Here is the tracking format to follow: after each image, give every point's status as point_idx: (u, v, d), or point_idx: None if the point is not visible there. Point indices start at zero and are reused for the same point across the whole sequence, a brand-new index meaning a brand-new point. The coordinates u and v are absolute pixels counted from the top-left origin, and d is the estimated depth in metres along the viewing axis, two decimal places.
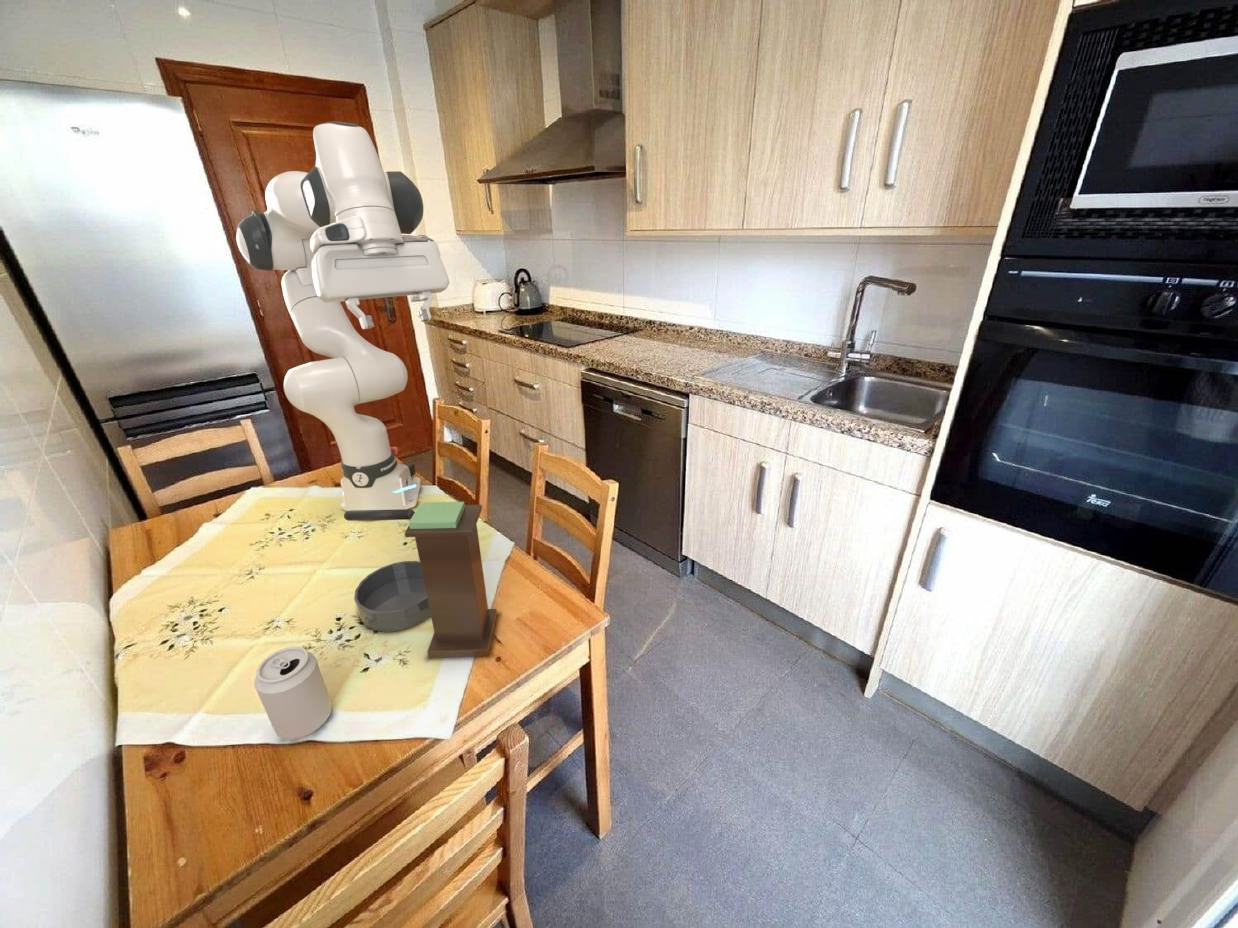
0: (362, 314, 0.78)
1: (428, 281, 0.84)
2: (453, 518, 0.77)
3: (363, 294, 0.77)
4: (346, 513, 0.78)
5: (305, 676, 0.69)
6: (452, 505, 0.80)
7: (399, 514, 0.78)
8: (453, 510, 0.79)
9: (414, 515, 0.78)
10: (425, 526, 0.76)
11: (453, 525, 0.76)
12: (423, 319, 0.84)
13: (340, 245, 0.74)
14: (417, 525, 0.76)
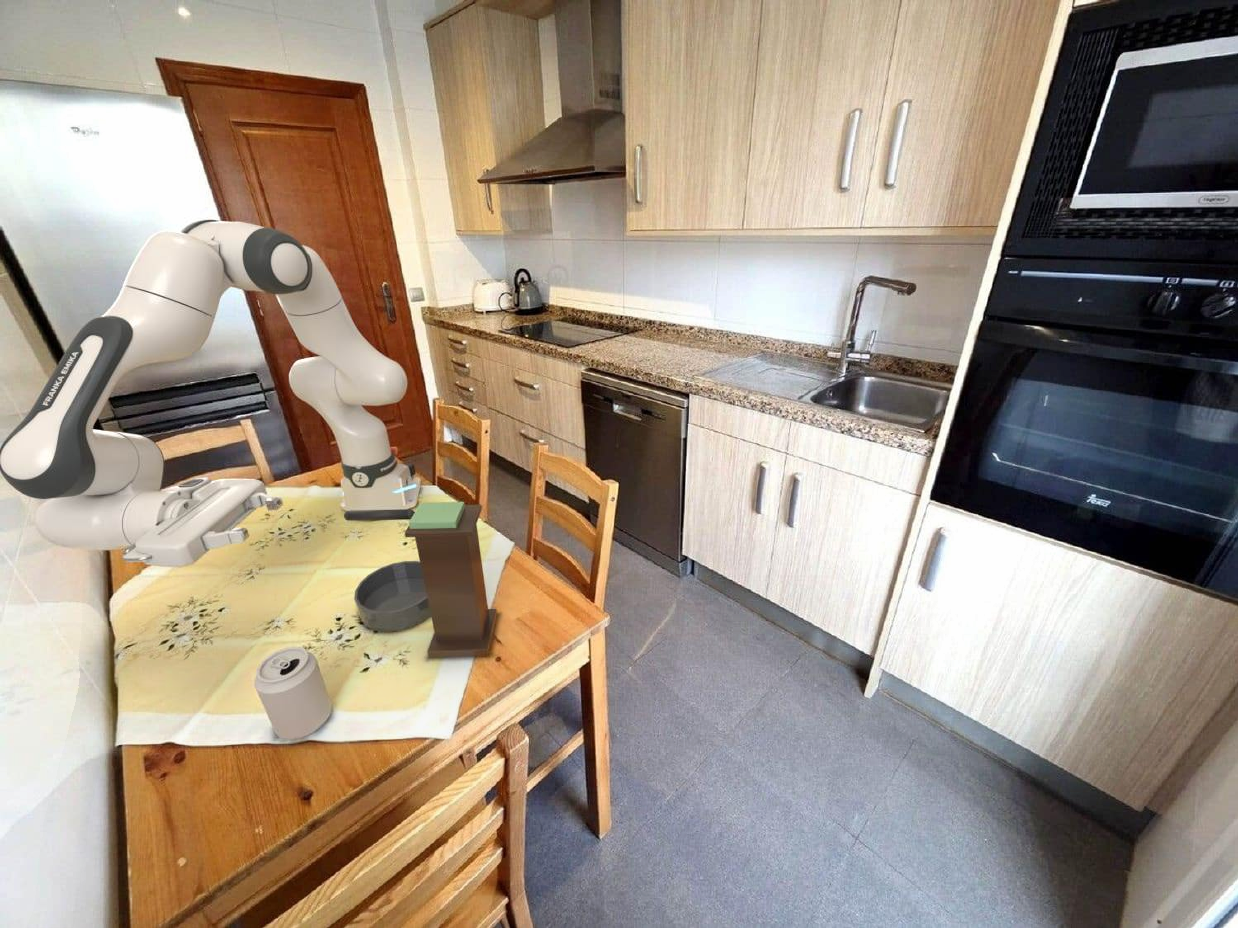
0: None
1: None
2: (453, 518, 0.77)
3: (250, 513, 0.82)
4: (346, 513, 0.78)
5: (305, 676, 0.69)
6: (452, 505, 0.80)
7: (399, 514, 0.78)
8: (453, 510, 0.79)
9: (414, 515, 0.78)
10: (425, 526, 0.76)
11: (453, 525, 0.76)
12: (247, 536, 0.74)
13: None
14: (417, 525, 0.76)
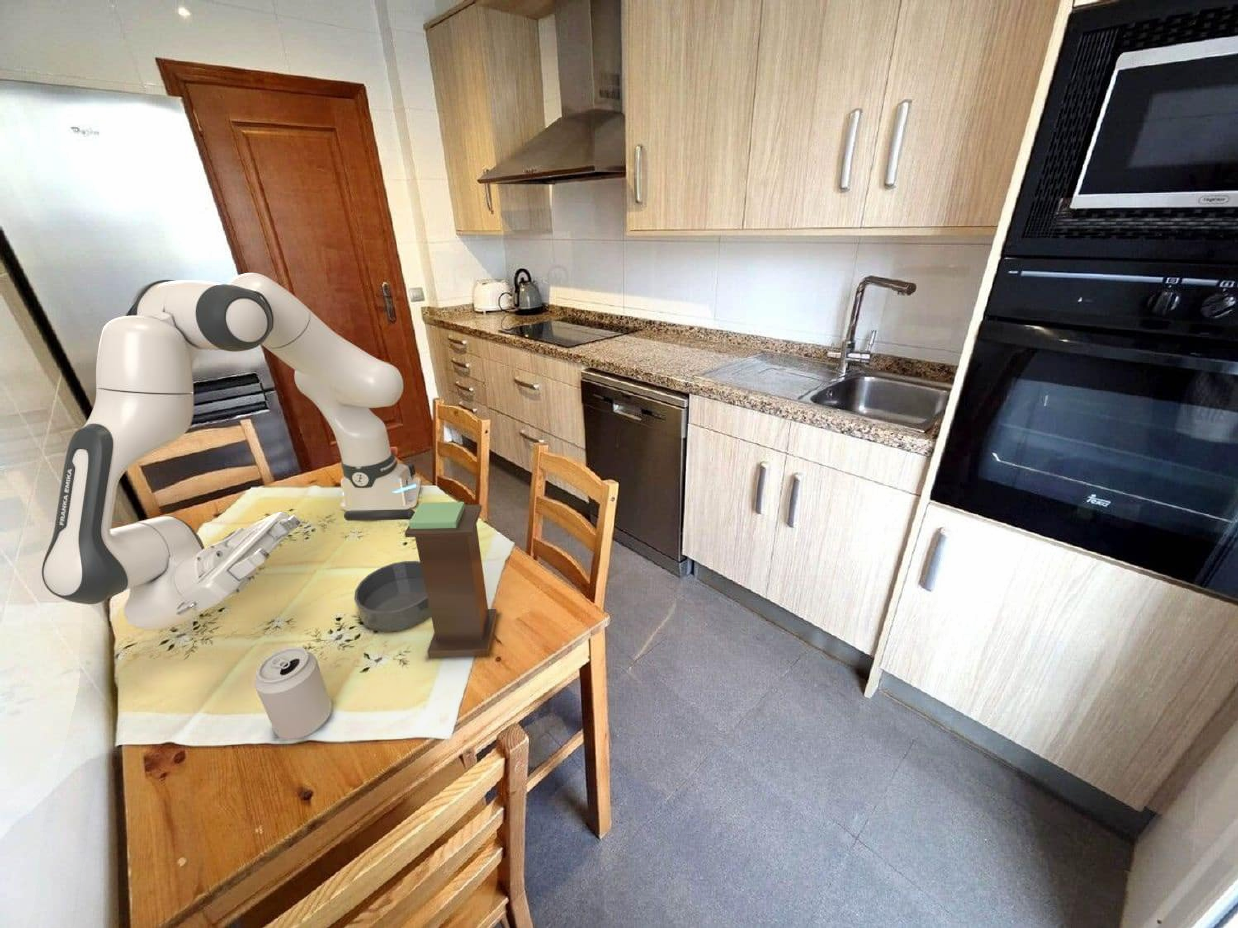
0: None
1: None
2: (453, 518, 0.77)
3: (281, 540, 0.85)
4: (346, 513, 0.78)
5: (305, 676, 0.69)
6: (452, 505, 0.80)
7: (399, 514, 0.78)
8: (453, 510, 0.79)
9: (414, 515, 0.78)
10: (425, 526, 0.76)
11: (453, 525, 0.76)
12: (268, 555, 0.76)
13: None
14: (417, 525, 0.76)
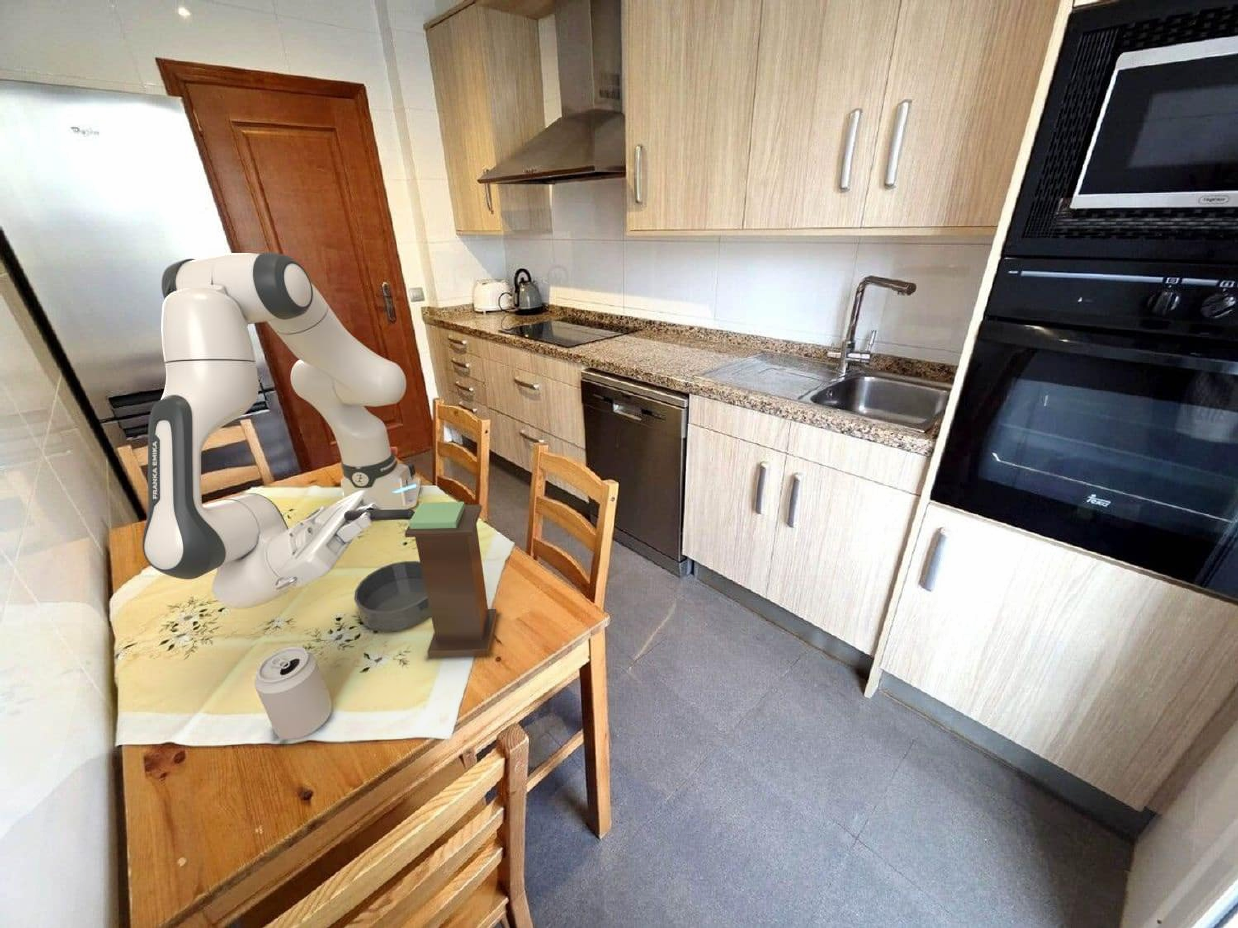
0: None
1: None
2: (453, 518, 0.77)
3: None
4: (346, 513, 0.78)
5: (305, 675, 0.69)
6: (452, 505, 0.80)
7: (399, 514, 0.78)
8: (453, 510, 0.79)
9: (414, 515, 0.78)
10: (425, 526, 0.76)
11: (453, 525, 0.76)
12: (373, 519, 0.78)
13: None
14: (417, 525, 0.76)
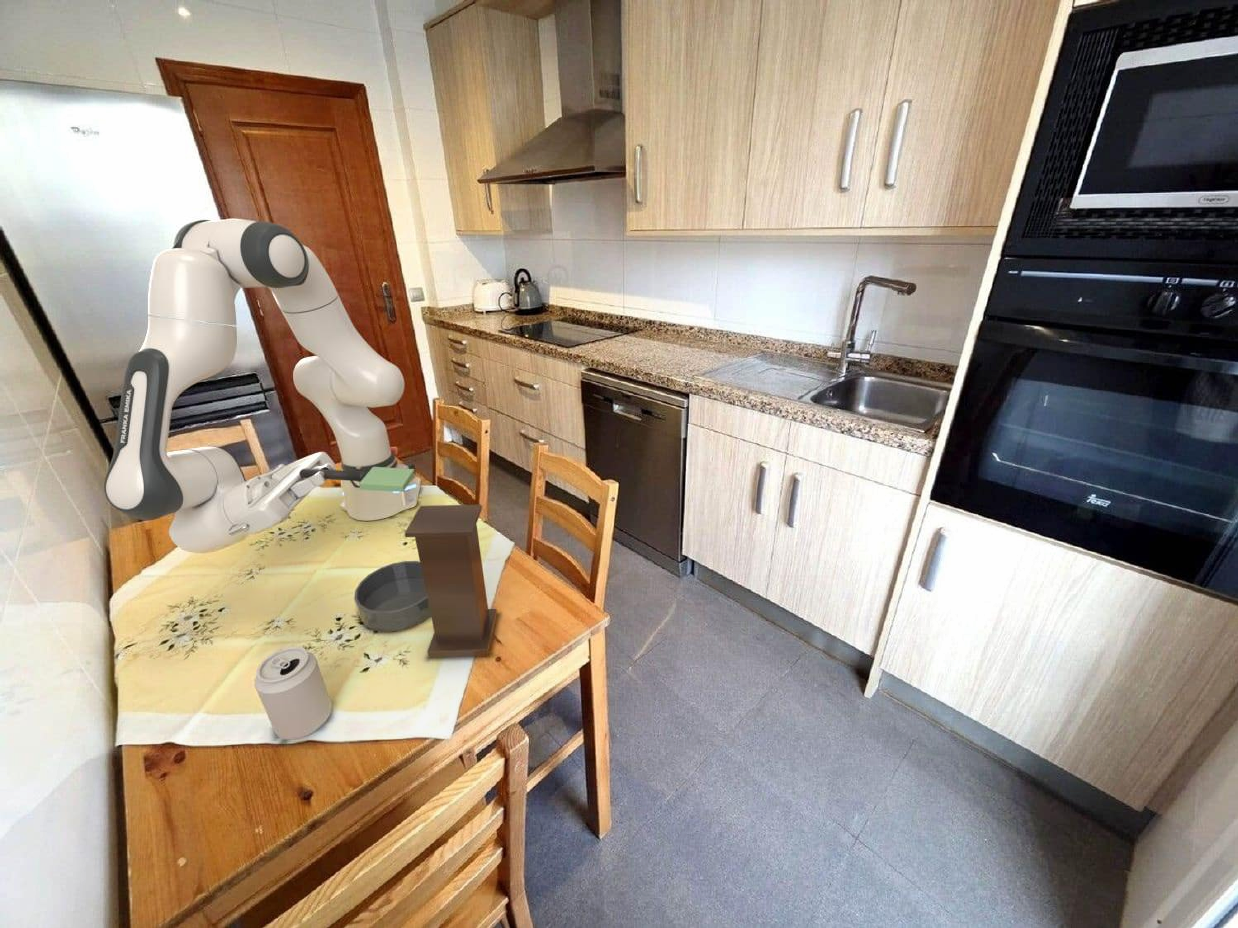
0: None
1: None
2: (401, 482, 0.84)
3: None
4: (301, 470, 0.84)
5: (305, 675, 0.69)
6: (402, 471, 0.87)
7: (351, 475, 0.84)
8: (402, 476, 0.86)
9: (365, 477, 0.84)
10: (374, 487, 0.83)
11: (400, 489, 0.83)
12: (326, 478, 0.84)
13: None
14: (367, 486, 0.83)
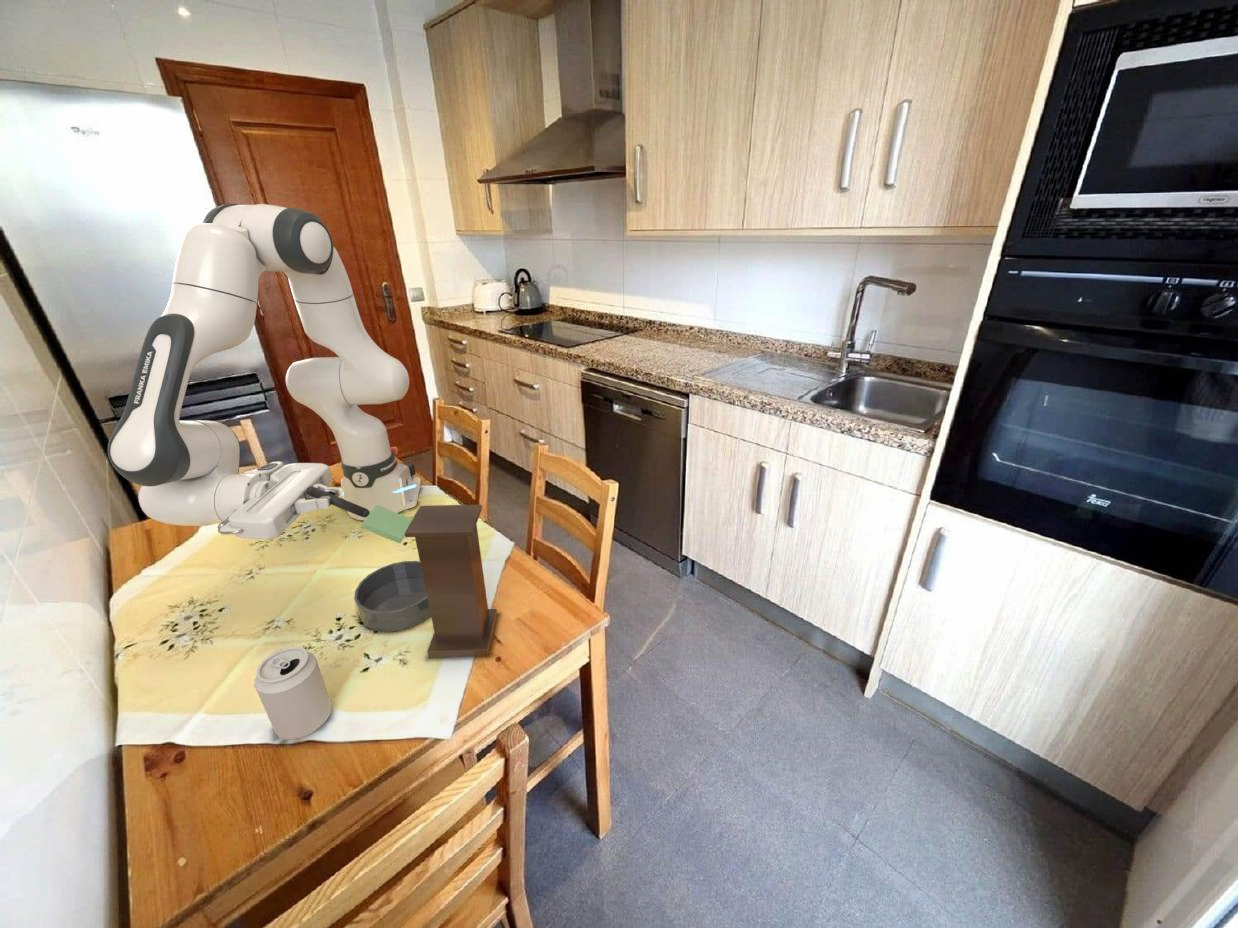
0: None
1: None
2: (401, 534, 0.88)
3: None
4: (310, 488, 0.85)
5: (305, 675, 0.69)
6: (403, 520, 0.91)
7: (356, 509, 0.87)
8: (403, 526, 0.90)
9: (369, 516, 0.87)
10: (375, 531, 0.87)
11: (399, 540, 0.88)
12: (331, 503, 0.86)
13: None
14: (369, 527, 0.86)
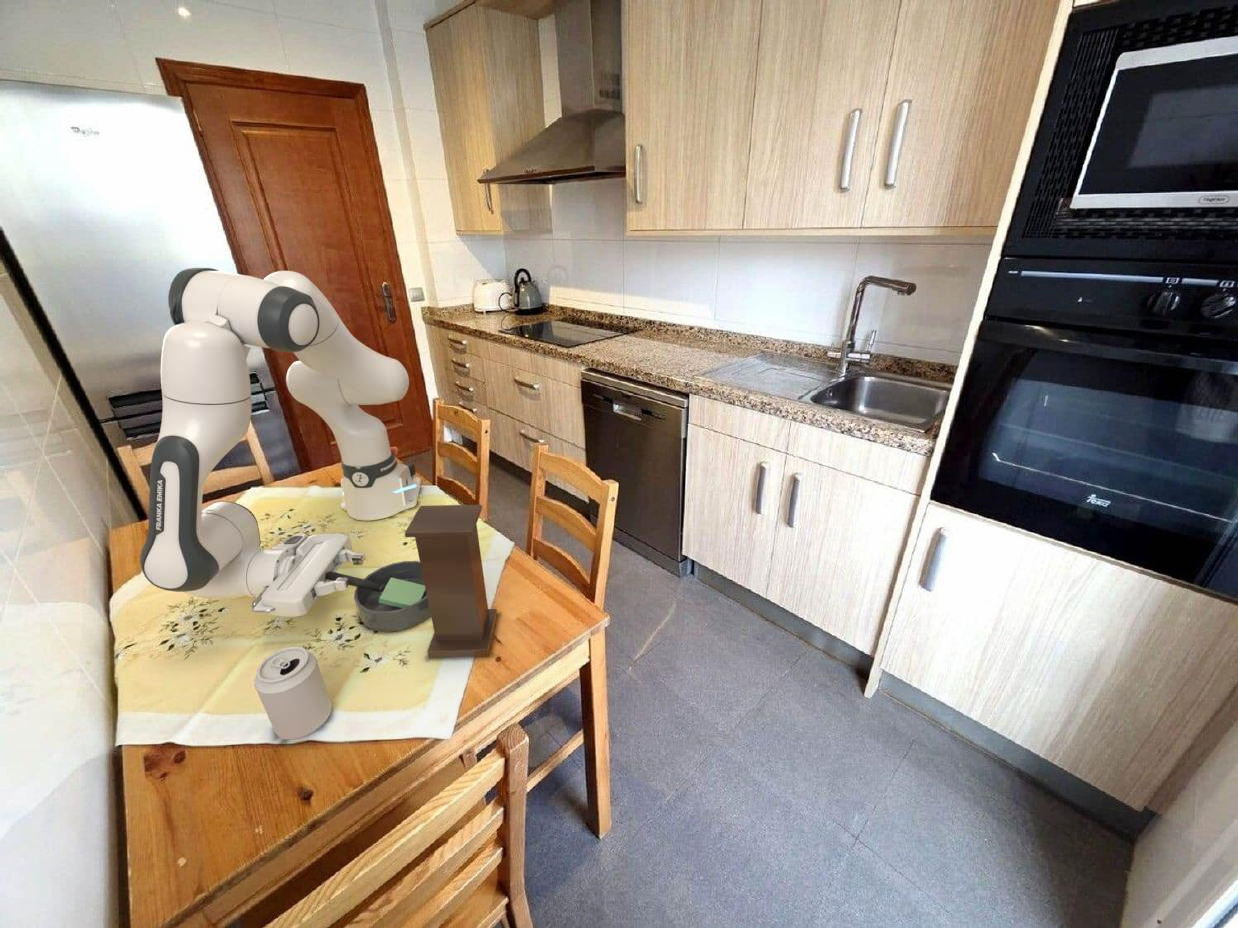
0: None
1: None
2: (416, 602, 0.95)
3: (341, 563, 0.98)
4: (328, 574, 0.93)
5: (305, 675, 0.69)
6: (417, 587, 0.98)
7: (372, 586, 0.95)
8: (417, 594, 0.97)
9: (384, 591, 0.95)
10: (392, 603, 0.94)
11: None
12: None
13: None
14: (385, 601, 0.93)
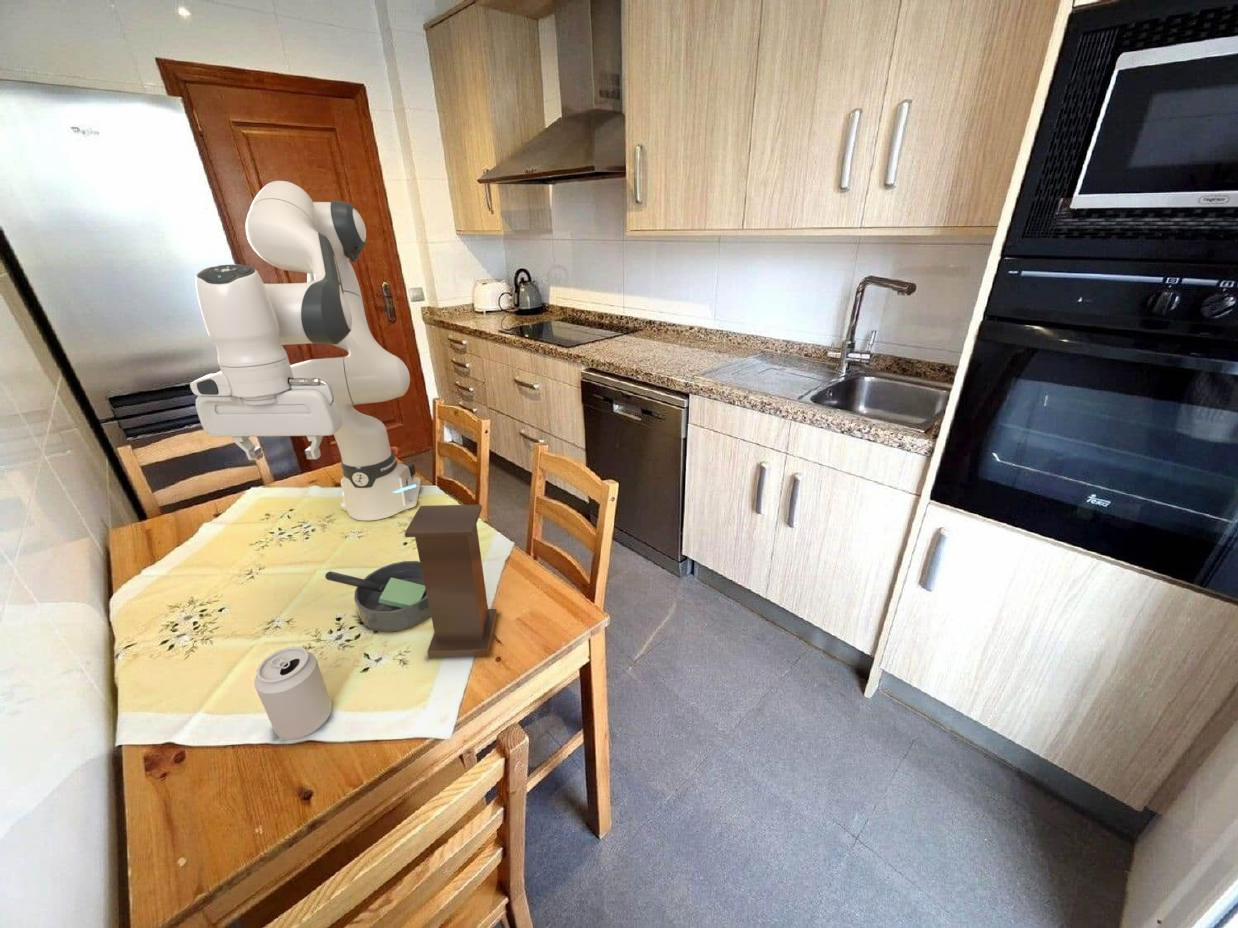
0: (246, 450, 0.82)
1: (309, 428, 0.80)
2: (416, 602, 0.95)
3: (243, 435, 0.80)
4: (328, 574, 0.93)
5: (305, 675, 0.69)
6: (417, 587, 0.98)
7: (372, 586, 0.95)
8: (417, 594, 0.97)
9: (384, 591, 0.95)
10: (392, 603, 0.94)
11: None
12: (308, 458, 0.84)
13: (214, 396, 0.76)
14: (385, 601, 0.93)
